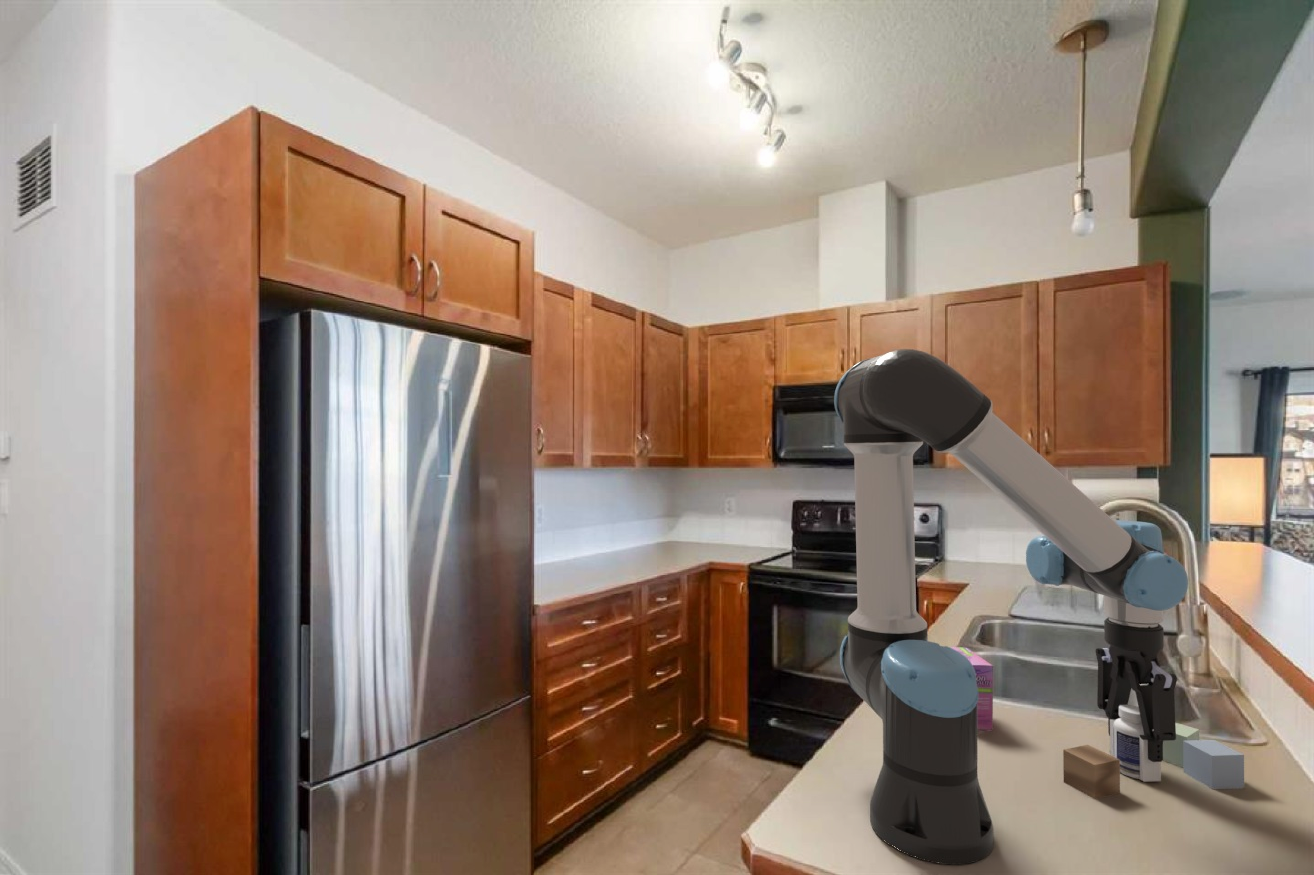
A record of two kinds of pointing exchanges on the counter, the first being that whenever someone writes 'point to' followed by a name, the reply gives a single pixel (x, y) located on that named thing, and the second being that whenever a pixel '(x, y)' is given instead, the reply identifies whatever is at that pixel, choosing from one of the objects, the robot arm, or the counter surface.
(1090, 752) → the walnut cube
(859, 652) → the robot arm
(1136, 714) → the pill bottle
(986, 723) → the box
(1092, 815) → the counter surface
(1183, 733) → the sage cube
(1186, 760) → the slate blue cube
